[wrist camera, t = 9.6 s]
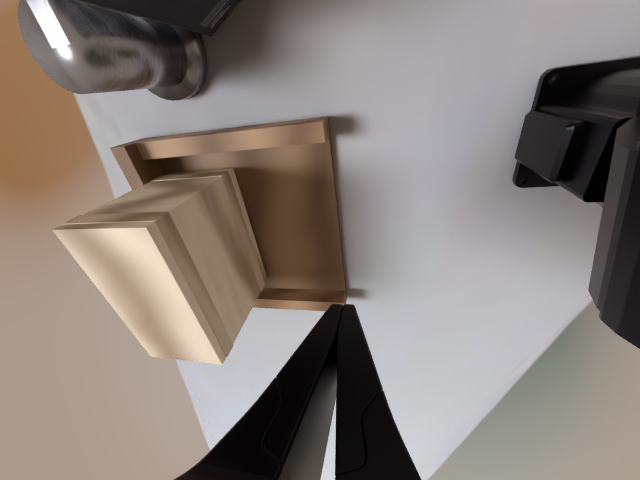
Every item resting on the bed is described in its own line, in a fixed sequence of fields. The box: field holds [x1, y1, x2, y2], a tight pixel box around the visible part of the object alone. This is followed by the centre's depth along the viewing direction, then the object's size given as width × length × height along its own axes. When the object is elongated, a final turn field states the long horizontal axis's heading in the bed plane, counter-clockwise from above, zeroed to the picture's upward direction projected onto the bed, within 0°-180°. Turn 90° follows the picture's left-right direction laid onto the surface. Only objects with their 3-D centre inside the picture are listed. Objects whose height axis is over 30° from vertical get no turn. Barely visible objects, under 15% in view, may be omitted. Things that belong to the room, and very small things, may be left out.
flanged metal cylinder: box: [18, 0, 207, 100], centre depth 13 cm, size 5×8×9 cm
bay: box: [110, 117, 347, 311], centre depth 22 cm, size 15×16×3 cm
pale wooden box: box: [53, 168, 267, 364], centre depth 20 cm, size 6×11×9 cm, turn 8°
